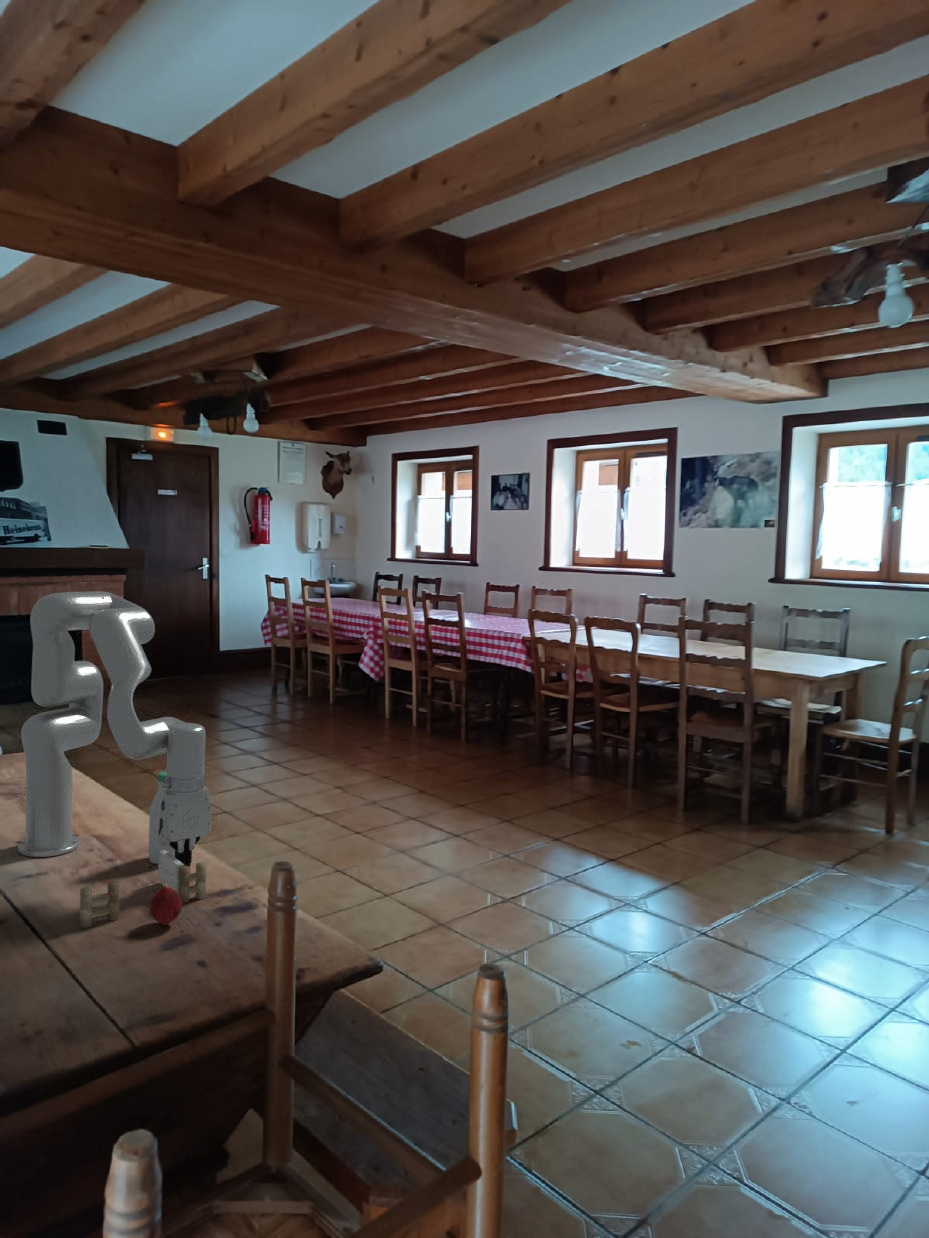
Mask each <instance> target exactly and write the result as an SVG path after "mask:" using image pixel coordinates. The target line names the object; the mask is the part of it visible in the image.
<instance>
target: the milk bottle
mask: <svg viewBox="0 0 929 1238" xmlns="http://www.w3.org/2000/svg"><path fill="white" fill-rule="evenodd" d="M166 776H167V770H165V771H160V772H159V773H158V774H157V784H158V788H157V791H156V794H155V795H154V798H153V800H152V803H151V805H150V810H149V822H148V823H149V826H148V860H149V862H150V863H152V864H154V865H158V866H159V851H160V850H166V851H167V852H168V853H170V854H171V855H172V856H174V857H175V850H174V849H173V848H172V847H171V846H161V845H159V844H158V841H159V837H160V835H159V834H158V818H159V809H160V803H161V799H162V795H163V791H164V790H166V788H161V785H160V783H161V782H162V781H165V780H166ZM183 842H184V840H183Z"/></svg>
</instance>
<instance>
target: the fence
mask: <svg viewBox="0 0 929 1238" xmlns="http://www.w3.org/2000/svg"><path fill="white" fill-rule="evenodd" d="M191 882H195V885H191V886H190V883H191ZM206 887H207V863H206V862H204V861H200V862H197V863H196V864H195V873H194V872H192V873H191V866H190V867H189V866H181V867H180V869H179V896H180V898H181V900H182V904H187V903H189V902H190V895H192V894H194V896H195V897H194V898H195V899H196V900H204V899H205V898H206V891H207V890H206V889H207V888H206ZM79 891H80V892H79V928H82V929H87V928H90V927H91V926H92V919H93V918H94V919H95V918H97V917H102V916H106V917H107V918H106V920H107V922H108V921H109V922H116V921H117V920H119V917H120V916H119V914H120V913H119V912H120V882H119V881H116V880H114V881H109V882H108V883H107V892H105V893H100V894H96V895H93V888H92V887H88V886H87V887H86V886H85V887H81V888H80V890H79ZM105 902H107V905H105V906H102V907H98V908H93V907H92V906H93V905H95V904H102V903H105Z"/></svg>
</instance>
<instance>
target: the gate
mask: <svg viewBox="0 0 929 1238" xmlns="http://www.w3.org/2000/svg"><path fill="white" fill-rule="evenodd" d="M181 866H184V864H183V863H182V862H180V861H179V860H178V859H176V858H175V857H174V856H172V855H171V854H170V853H168V852H167V851H166V850H160V851H159V865H158V870H157V871H158V877H157V878H158V881H159V882H160V883H162V884H163V885H164V883H166V884H168V886H169V887H170V888H172V889H174V890H175V891H176V892H177V893H178V894H179V869H180V867H181Z"/></svg>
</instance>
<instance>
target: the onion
mask: <svg viewBox="0 0 929 1238" xmlns="http://www.w3.org/2000/svg"><path fill="white" fill-rule="evenodd" d="M182 909H183V903H182V900H181V898H180V896H179V894H178V893H177V892H176V891H175V890H174V889H172V888H170V887H169V886H168V884H166V883H164V884H163V885H162V888H161V889H159V890H158V891H157V892H156V893H155V894H154V895H153V897H152V898H151V899H150V902H149V912H150V916H151V917H152V918H153V919H154V920H155V921H156V923H159V924H161V925H163V926H167V925H169V924H170V923H171V922H174V921H175V920H176V919H177V918H178V917H179V916H180V914H181V912H182Z"/></svg>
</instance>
